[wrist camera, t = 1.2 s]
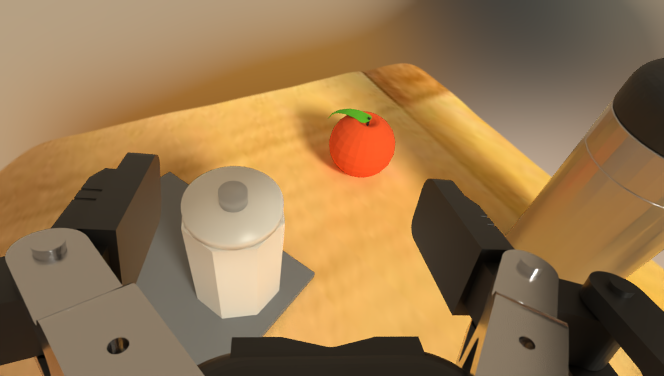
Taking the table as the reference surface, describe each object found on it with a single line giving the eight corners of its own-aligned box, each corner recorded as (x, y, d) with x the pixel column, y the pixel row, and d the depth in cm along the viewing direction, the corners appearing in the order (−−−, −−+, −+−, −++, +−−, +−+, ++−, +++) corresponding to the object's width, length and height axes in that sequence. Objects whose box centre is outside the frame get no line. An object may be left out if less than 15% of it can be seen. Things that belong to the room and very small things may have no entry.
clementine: (305, 166, 44) (311, 114, 39) (337, 134, 48) (347, 84, 43) (368, 201, 42) (384, 150, 37) (396, 165, 46) (414, 115, 41)
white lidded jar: (237, 234, 36) (231, 142, 28) (293, 274, 34) (304, 188, 26) (180, 284, 32) (155, 194, 24) (240, 333, 30) (234, 252, 22)
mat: (170, 175, 40) (169, 171, 40) (313, 276, 35) (314, 273, 34) (-15, 297, 30) (-19, 294, 29) (149, 468, 24) (147, 466, 24)
